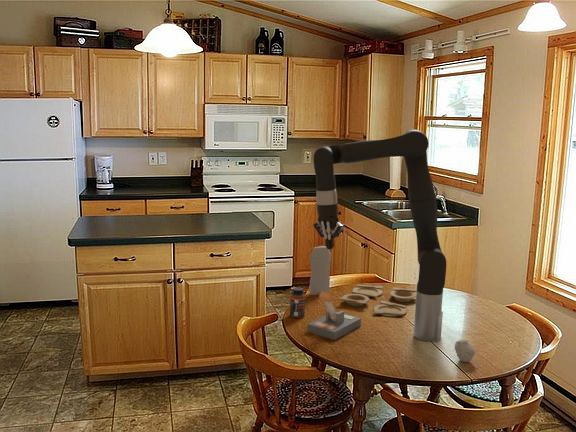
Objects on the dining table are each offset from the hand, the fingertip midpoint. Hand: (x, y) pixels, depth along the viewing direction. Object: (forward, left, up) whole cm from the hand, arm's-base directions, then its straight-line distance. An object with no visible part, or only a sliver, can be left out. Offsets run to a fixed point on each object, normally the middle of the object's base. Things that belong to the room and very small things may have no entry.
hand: (330, 248), depth 203 cm
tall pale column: (+20, -35, -31) cm, 51 cm away
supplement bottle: (+16, -6, -31) cm, 35 cm away
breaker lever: (-3, -2, -27) cm, 27 cm away
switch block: (-2, -1, -31) cm, 31 cm away
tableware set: (-6, -39, -31) cm, 51 cm away
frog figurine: (-50, +2, -31) cm, 59 cm away
